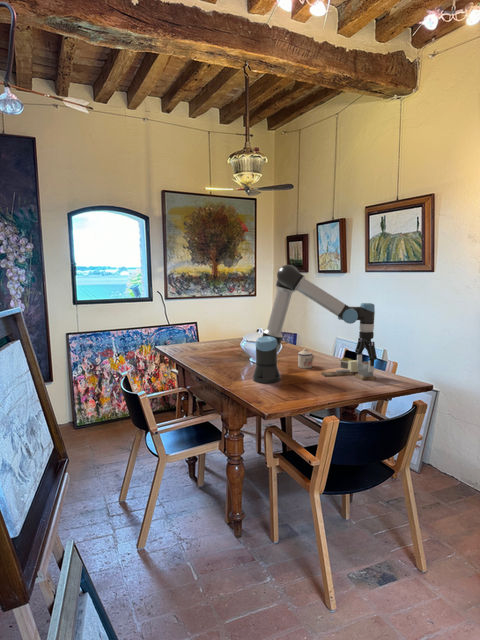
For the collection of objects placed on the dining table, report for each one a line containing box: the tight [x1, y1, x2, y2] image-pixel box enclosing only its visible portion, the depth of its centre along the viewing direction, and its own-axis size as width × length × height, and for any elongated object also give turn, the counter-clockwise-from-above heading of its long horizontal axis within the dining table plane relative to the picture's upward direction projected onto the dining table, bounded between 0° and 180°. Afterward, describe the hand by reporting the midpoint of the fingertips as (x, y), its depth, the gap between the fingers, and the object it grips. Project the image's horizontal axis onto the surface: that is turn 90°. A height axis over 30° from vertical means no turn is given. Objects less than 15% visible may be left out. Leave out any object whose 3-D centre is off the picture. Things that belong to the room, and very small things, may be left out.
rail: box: [320, 371, 358, 378], centre depth 226 cm, size 26×6×2 cm, turn 100°
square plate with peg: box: [354, 363, 377, 381], centre depth 217 cm, size 8×8×8 cm
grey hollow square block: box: [358, 361, 374, 377], centre depth 217 cm, size 6×6×7 cm
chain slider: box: [335, 359, 358, 372], centre depth 226 cm, size 13×4×6 cm, turn 100°
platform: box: [338, 357, 353, 370], centre depth 239 cm, size 12×18×7 cm, turn 43°
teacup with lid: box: [297, 348, 315, 369], centre depth 244 cm, size 12×9×12 cm
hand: (364, 368), depth 217 cm, fingers open, 13 cm apart
